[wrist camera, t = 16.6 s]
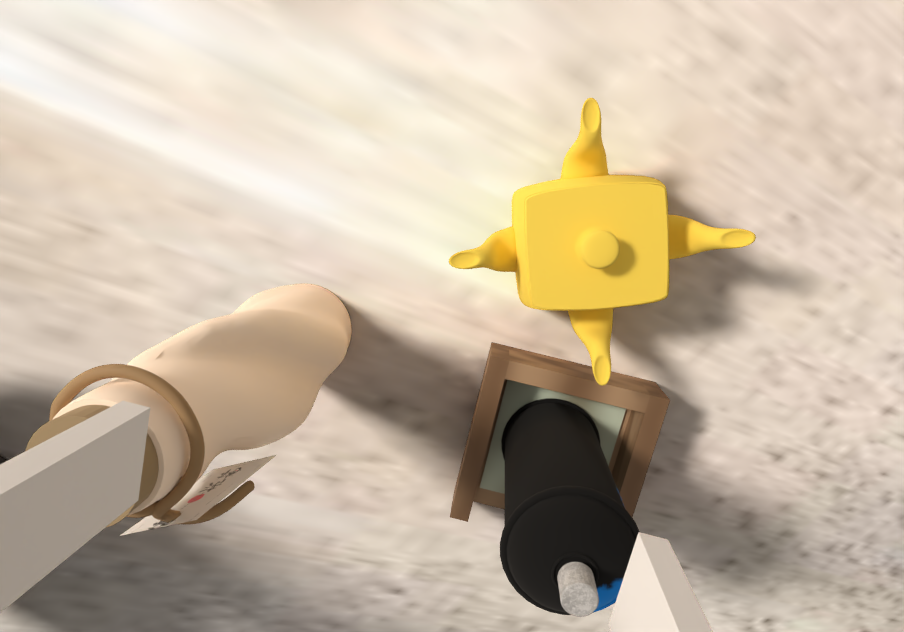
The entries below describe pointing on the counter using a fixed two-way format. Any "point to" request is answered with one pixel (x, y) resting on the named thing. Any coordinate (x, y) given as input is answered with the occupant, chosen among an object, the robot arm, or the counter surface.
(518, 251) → the teapot
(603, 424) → the u rest
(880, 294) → the counter surface
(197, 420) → the water bottle
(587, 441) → the aerosol can
